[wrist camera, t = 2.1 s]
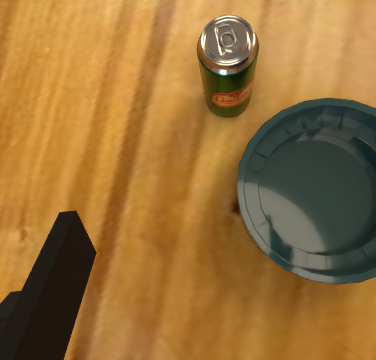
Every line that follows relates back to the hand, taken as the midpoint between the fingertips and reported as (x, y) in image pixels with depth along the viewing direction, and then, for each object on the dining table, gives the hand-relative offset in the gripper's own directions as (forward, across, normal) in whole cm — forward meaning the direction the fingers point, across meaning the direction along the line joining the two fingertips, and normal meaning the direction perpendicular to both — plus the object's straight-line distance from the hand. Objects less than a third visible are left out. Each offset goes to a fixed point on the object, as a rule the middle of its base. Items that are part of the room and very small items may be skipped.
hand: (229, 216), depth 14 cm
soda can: (+26, +2, -6) cm, 26 cm away
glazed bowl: (+17, +10, -14) cm, 24 cm away
